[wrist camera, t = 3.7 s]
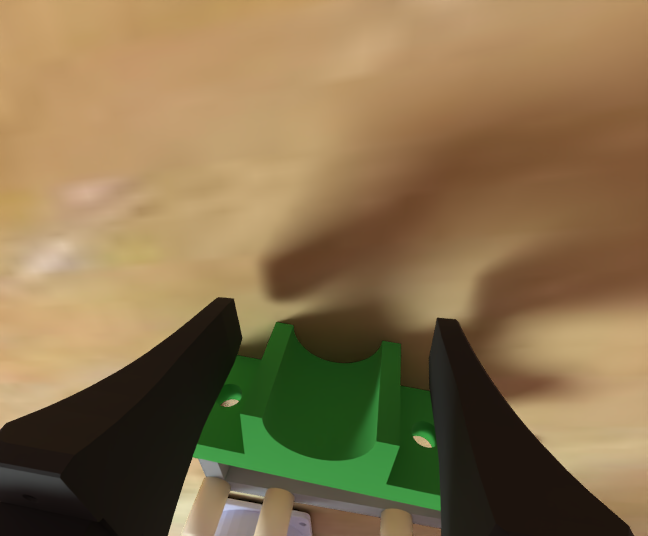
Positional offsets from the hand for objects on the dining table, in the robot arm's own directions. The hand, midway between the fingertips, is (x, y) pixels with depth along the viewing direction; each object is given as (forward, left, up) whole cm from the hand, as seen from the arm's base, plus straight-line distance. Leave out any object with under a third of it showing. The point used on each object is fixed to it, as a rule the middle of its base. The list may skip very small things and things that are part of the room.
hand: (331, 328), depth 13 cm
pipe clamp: (-4, 0, -2) cm, 4 cm away
